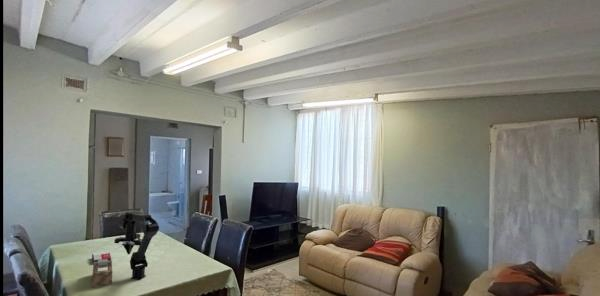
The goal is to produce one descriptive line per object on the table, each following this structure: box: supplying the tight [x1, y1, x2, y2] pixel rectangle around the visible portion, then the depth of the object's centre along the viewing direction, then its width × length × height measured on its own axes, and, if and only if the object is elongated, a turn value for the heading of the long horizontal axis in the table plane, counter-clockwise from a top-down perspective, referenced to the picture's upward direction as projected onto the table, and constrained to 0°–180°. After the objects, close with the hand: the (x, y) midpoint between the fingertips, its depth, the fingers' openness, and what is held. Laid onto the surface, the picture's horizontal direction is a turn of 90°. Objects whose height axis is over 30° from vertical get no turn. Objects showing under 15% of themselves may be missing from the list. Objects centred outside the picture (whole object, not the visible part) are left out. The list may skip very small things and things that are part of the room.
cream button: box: [98, 267, 108, 272], centre depth 199 cm, size 5×5×3 cm
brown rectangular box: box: [91, 259, 113, 288], centre depth 203 cm, size 10×22×8 cm, turn 31°
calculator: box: [91, 251, 112, 265], centre depth 237 cm, size 11×4×15 cm
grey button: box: [98, 259, 108, 266], centre depth 208 cm, size 5×5×3 cm
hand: (128, 254), depth 217 cm, fingers closed
